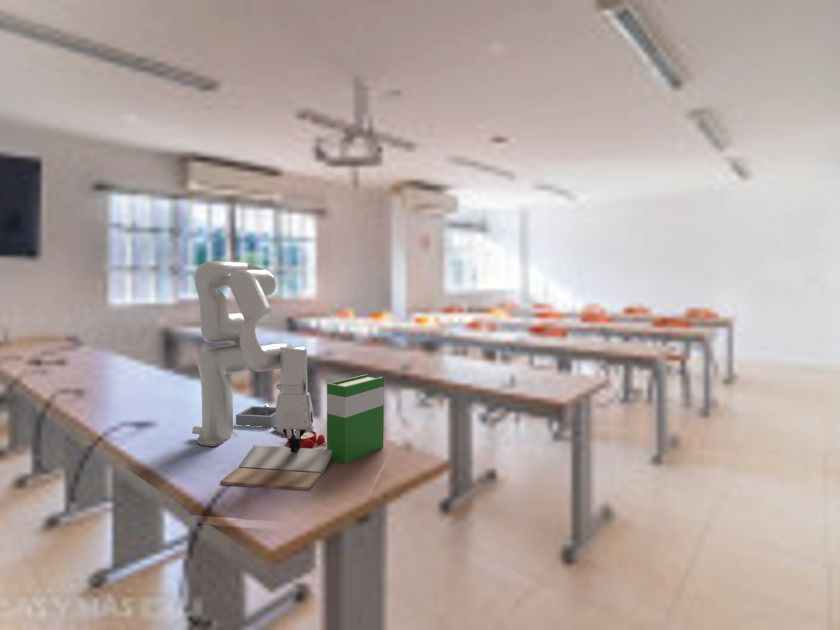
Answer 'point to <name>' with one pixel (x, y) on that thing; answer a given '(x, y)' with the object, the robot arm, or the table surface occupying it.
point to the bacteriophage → (266, 410)
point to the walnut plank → (271, 478)
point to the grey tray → (256, 417)
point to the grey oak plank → (287, 459)
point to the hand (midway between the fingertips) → (295, 450)
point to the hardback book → (355, 417)
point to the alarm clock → (310, 440)
